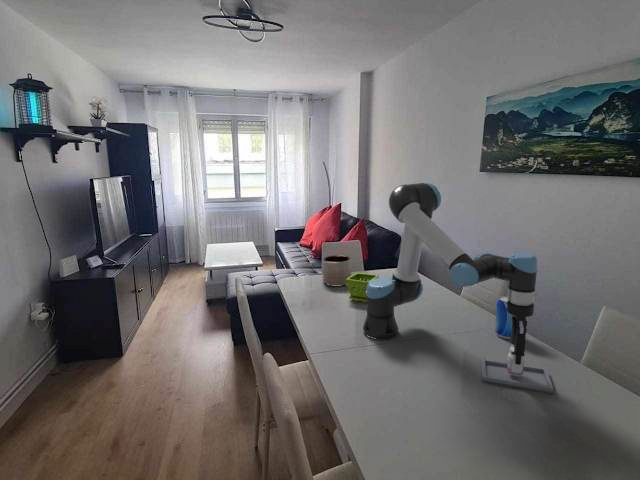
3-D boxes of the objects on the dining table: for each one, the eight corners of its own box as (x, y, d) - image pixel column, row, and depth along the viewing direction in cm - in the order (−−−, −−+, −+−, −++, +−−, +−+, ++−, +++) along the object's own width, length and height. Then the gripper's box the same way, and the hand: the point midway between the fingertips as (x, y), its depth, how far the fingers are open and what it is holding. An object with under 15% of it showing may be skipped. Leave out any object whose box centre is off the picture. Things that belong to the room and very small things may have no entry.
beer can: (520, 340, 144) (523, 303, 141) (497, 339, 146) (500, 302, 143) (513, 331, 152) (516, 295, 149) (492, 330, 154) (494, 295, 151)
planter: (321, 287, 218) (320, 262, 214) (325, 278, 235) (324, 254, 232) (350, 287, 215) (349, 262, 211) (352, 278, 232) (352, 255, 229)
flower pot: (379, 297, 198) (379, 275, 195) (369, 305, 186) (368, 282, 184) (357, 293, 205) (356, 271, 202) (345, 301, 194) (344, 278, 191)
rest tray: (482, 381, 119) (482, 376, 118) (481, 363, 129) (481, 358, 129) (553, 394, 111) (553, 388, 111) (545, 373, 122) (546, 368, 121)
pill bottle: (506, 367, 123) (508, 345, 121) (522, 370, 121) (524, 347, 119) (507, 375, 119) (509, 351, 117) (523, 378, 117) (525, 354, 115)
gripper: (539, 313, 105) (532, 384, 110) (529, 293, 121) (524, 356, 126) (510, 310, 108) (505, 380, 113) (505, 291, 124) (501, 352, 129)
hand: (515, 367), depth 119 cm, fingers closed on pill bottle, 5 cm apart
